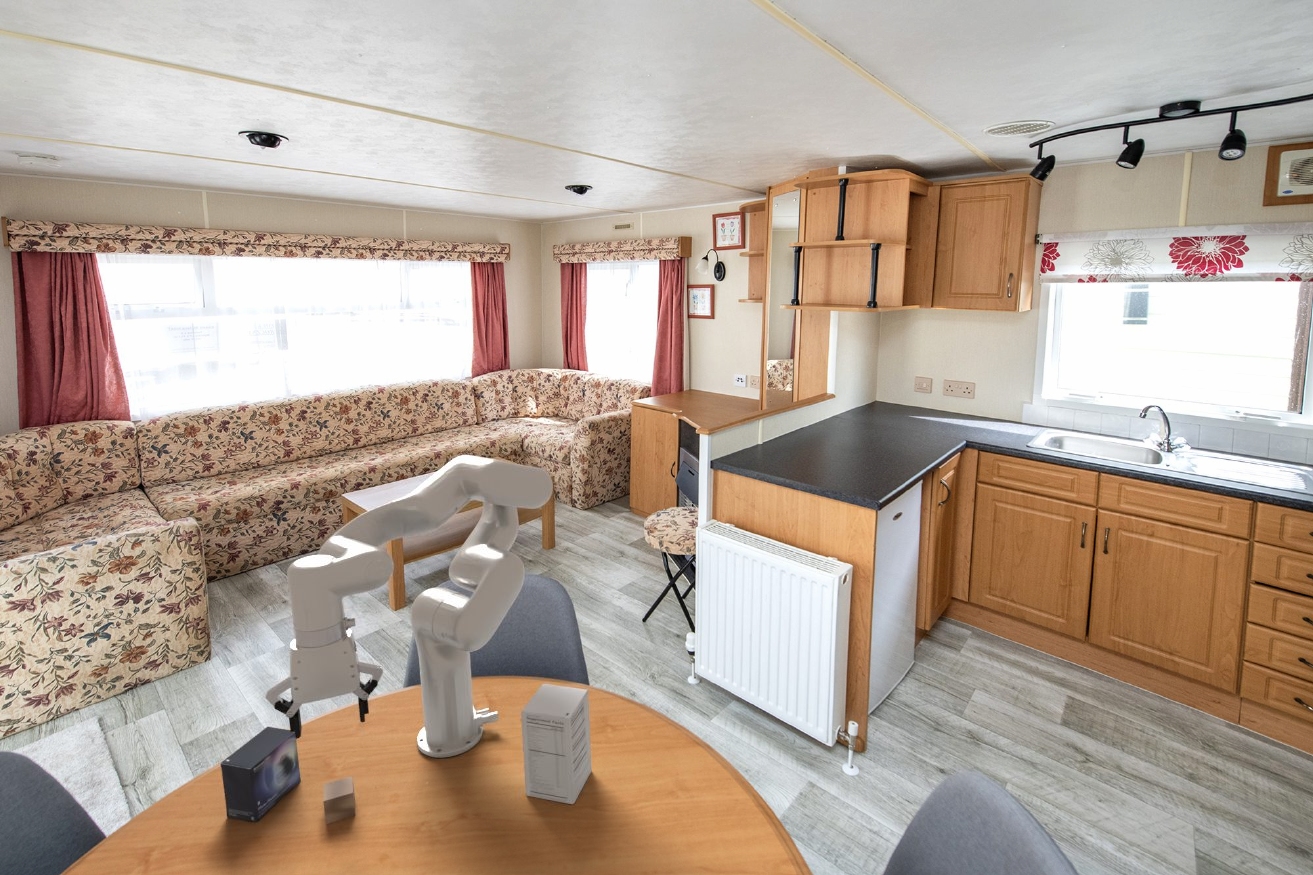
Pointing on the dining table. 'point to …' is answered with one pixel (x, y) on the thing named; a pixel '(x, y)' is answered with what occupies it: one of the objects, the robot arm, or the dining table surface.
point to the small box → (260, 774)
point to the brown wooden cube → (339, 800)
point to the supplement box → (556, 743)
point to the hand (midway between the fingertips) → (331, 725)
